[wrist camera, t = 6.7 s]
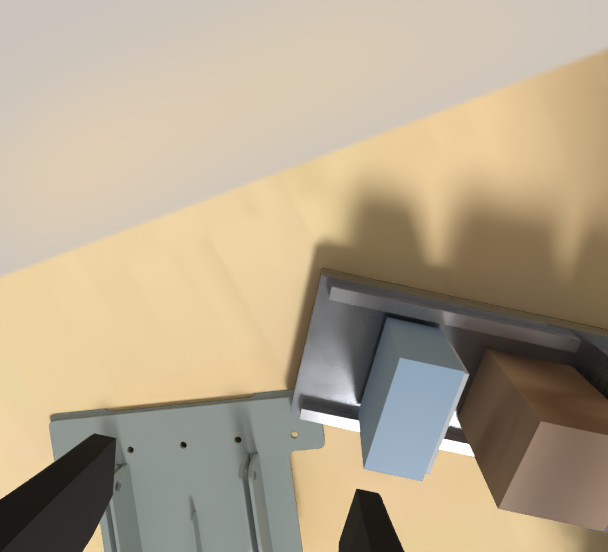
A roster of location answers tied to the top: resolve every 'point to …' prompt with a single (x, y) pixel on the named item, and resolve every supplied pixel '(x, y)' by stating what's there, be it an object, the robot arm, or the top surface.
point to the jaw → (409, 399)
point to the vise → (432, 312)
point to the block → (539, 438)
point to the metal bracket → (199, 473)
